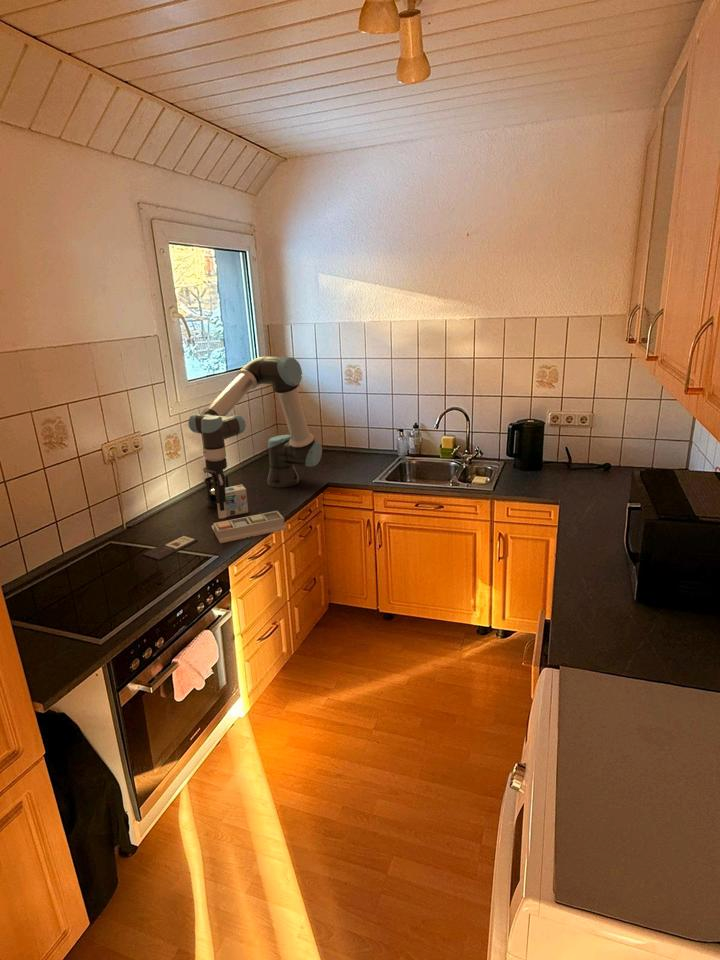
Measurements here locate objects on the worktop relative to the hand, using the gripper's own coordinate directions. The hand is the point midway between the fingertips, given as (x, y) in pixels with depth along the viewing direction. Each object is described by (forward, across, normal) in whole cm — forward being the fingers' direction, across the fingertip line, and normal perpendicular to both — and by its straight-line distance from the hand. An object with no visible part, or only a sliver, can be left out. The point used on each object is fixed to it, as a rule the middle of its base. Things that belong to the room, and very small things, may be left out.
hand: (222, 517), depth 214 cm
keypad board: (+8, -2, +10) cm, 13 cm away
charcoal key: (+6, 0, +20) cm, 20 cm away
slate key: (+6, 0, +7) cm, 9 cm away
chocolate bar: (+8, +1, -20) cm, 22 cm away
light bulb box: (+8, -22, +9) cm, 25 cm away
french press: (+8, -35, +5) cm, 36 cm away
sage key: (+4, 0, +13) cm, 14 cm away
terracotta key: (+5, 0, 0) cm, 5 cm away
